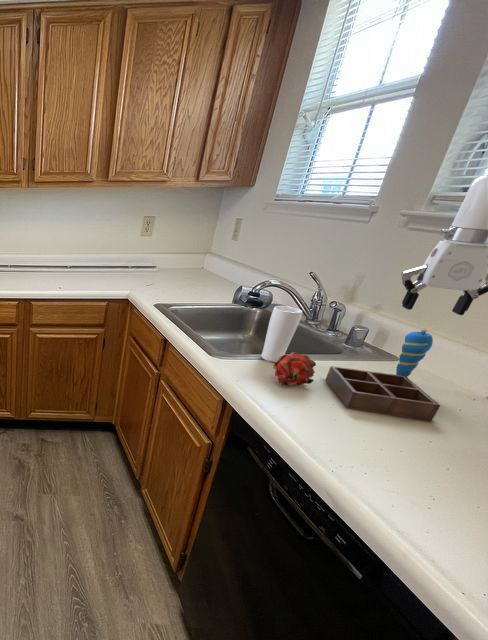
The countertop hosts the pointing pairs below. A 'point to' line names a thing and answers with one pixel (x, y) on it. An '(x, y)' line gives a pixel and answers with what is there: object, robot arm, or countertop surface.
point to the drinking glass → (280, 332)
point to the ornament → (413, 351)
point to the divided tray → (381, 393)
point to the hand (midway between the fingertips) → (431, 310)
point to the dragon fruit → (294, 369)
